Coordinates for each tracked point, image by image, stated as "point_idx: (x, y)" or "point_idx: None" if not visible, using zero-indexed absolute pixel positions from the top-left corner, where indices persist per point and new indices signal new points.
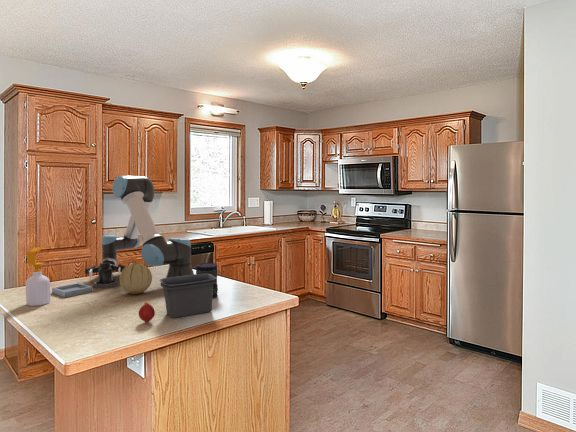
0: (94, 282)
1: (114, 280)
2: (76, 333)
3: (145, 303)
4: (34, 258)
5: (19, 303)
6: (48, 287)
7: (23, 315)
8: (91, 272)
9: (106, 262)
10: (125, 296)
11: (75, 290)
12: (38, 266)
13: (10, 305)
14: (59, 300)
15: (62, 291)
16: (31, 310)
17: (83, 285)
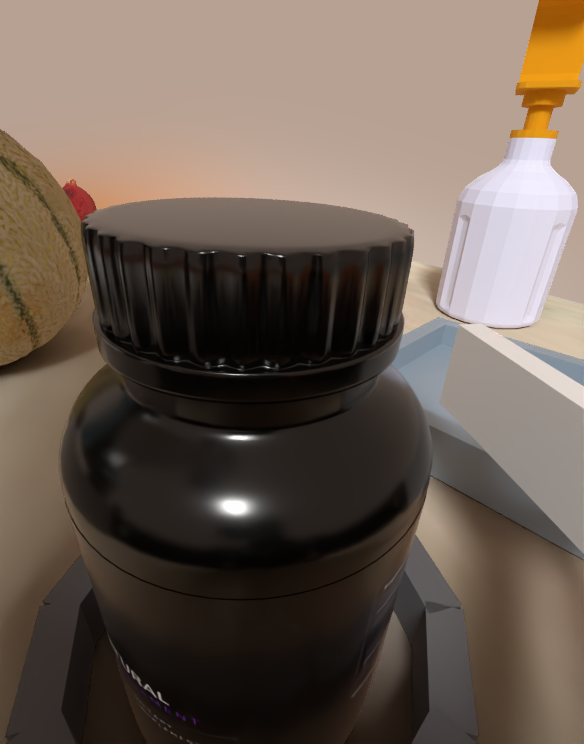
0: (439, 584)
1: (71, 733)
2: None
3: (73, 181)
4: (527, 48)
5: (575, 318)
6: (453, 233)
7: (415, 266)
8: (509, 407)
9: (207, 221)
10: (79, 331)
11: (403, 337)
12: (522, 105)
13: (581, 309)
14: (421, 325)
15: None
16: (431, 280)
17: (448, 423)
